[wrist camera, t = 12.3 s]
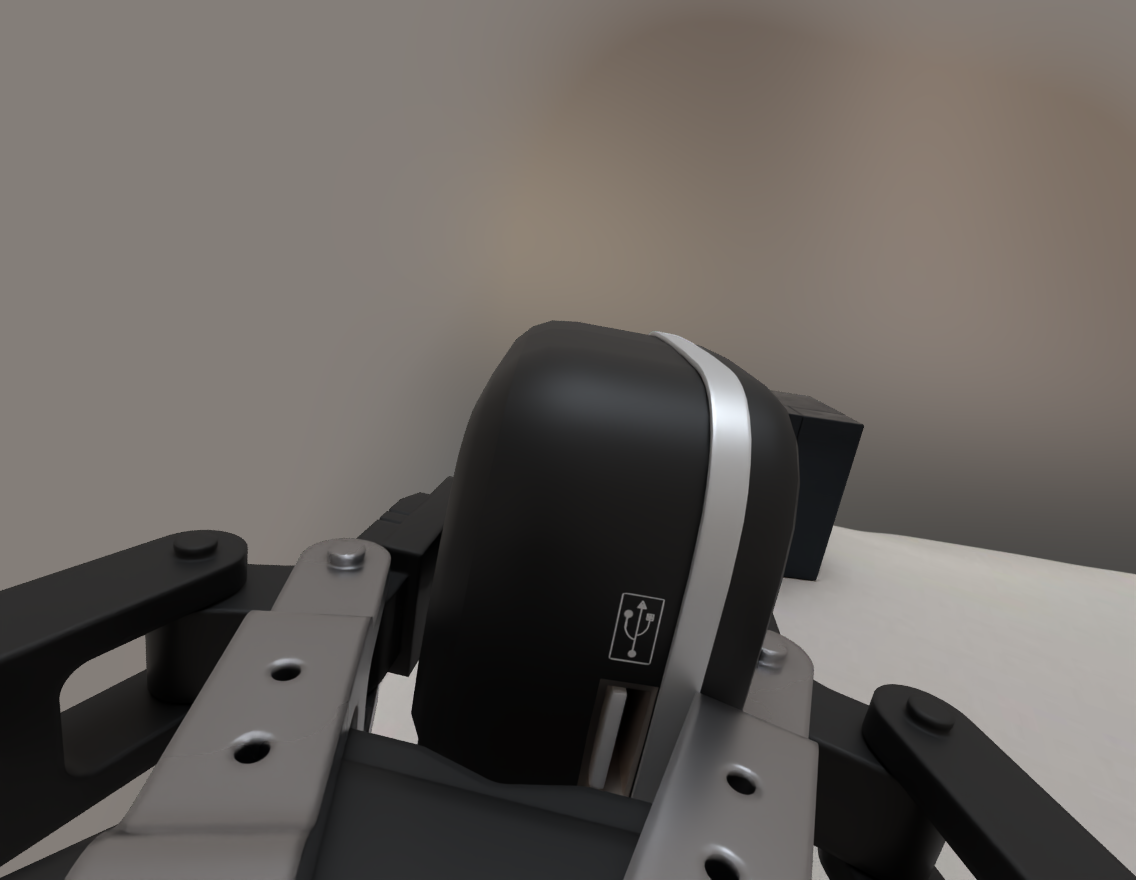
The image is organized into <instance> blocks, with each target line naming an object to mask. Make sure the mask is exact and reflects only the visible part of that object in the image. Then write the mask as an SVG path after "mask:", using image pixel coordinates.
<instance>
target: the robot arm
mask: <svg viewBox="0 0 1136 880" xmlns="http://www.w3.org/2000/svg"><path fill="white" fill-rule="evenodd" d="M452 482H453V477H451V476H449V477H448V478H446V479H445V480H444V481H443V482H442V483H441V484H440V485H439V486H438V487H437V488H436V489H435V490H434V491H433V492H432V493H431V494H425V493H421V492H420V493H417V494H414V495H411V496H408V497H405V498H402V499H400V500H399V501H398V502H397V503H396V504H395V505H393V506H392V507H391V508H390V509H389V511H387V512H386V513H384V514H383V515H382V516H381V517H380V519H379V520H377V521H375V522H374V523H373V524H372V525H371V526H370V527H369V528H368V529H367V530H365V531H364V532H363V533H362V534H361V535H360V536H359V537H358V538H356V539H354V538H340V539H331V540H326V541H322V542H319V543H316V544H314V545H312V546H310V547H308V548H307V549H306V550H304V551H303V553H302V554H301V556H300V557H299V559H298V561H297V563H296V565H295V566H280V565H254V564H247V554H248V551H247V550H248V549H247V544H246V542H245V541H244V540H243V539H242V538H240V537H239V536H237V535H234V534H232V533H228V532H223V531H215V530H197V531H187V532H181V533H176V534H172V535H169V536H166V537H162V538H159V539H156V540H153V541H150V542H147V543H144V544H141V545H138V546H135V547H132V548H129V549H126V550H123V551H120V552H117V553H114V554H111V555H108V556H105V557H102V558H99V559H96V560H93V561H90V562H87V563H83V564H81V565H78V566H74V567H71V568H68V569H65V570H62V571H59V572H56V573H53V574H50V575H47V576H44V577H41V578H38V579H35V580H32V581H29V582H26V583H23V584H20V585H17V586H14V587H11V588H8V589H5V590H2V591H0V867H1V866H2V865H4V864H5V863H7V862H8V861H10V860H11V859H13V858H14V857H16V856H18V855H19V854H20V853H22V852H23V851H25V850H27V849H28V848H30V847H31V846H33V845H34V844H36V843H37V842H39V841H40V840H42V839H43V838H45V837H47V836H48V835H49V834H51V833H52V832H54V831H56V830H57V829H59V828H60V827H62V826H63V825H65V824H66V823H68V822H69V821H71V820H72V819H74V818H75V817H77V816H78V815H80V814H81V813H83V812H85V811H86V810H88V809H89V808H90V807H92V806H94V805H95V804H97V803H98V802H100V801H101V800H103V799H104V798H106V797H107V796H109V795H110V794H112V793H113V792H115V791H116V790H118V789H119V788H121V787H123V786H124V785H126V784H127V783H129V782H130V781H132V780H133V779H135V778H136V777H138V776H139V775H141V774H142V773H144V772H146V771H147V770H148V769H150V768H151V767H153V766H155V765H156V766H155V768H154V769H153V771H152V773H151V774H150V776H149V778H148V779H147V781H146V783H145V784H144V786H143V788H142V789H141V791H140V793H139V794H138V796H137V797H136V799H135V801H134V802H133V804H132V806H131V807H130V809H129V811H128V812H127V814H126V815H125V817H124V818H123V819H122V821H121V822H120V823H119V824H117V825H115V826H113V827H111V828H108V829H106V830H104V831H102V832H100V833H98V834H96V835H93V836H91V837H89V838H87V839H84V840H82V841H80V842H78V843H76V844H74V845H71V846H69V847H67V848H65V849H63V850H60V851H58V852H56V853H54V854H52V855H49V856H47V857H45V858H43V859H41V860H39V861H36V862H34V863H32V864H30V865H28V866H25V867H24V868H21V869H19V870H17V871H15V872H12V873H10V874H8V875H6V876H4V877H1V878H0V880H812V863H813V845H814V846H816V847H818V855H819V859H820V862H821V864H822V866H823V868H824V870H825V872H826V874H827V876H828V877H829V879H830V880H945V879H944V878H943V876H942V875H941V874H940V872H939V871H938V870H937V868H936V867H935V866H934V865H935V863H936V861H937V859H938V857H939V854H940V852H941V850H942V848H943V845H944V843H945V841H946V842H947V843H948V844H949V846H950V847H951V848H952V849H953V851H954V852H955V853H956V854H957V856H958V857H959V858H960V859H961V860H962V862H963V863H964V864H965V865H966V867H967V868H968V869H969V870H970V872H971V873H972V874H973V875H974V877H975V878H976V879H977V880H1136V876H1135V875H1134V874H1133V873H1132V872H1131V871H1129V870H1128V869H1127V868H1126V867H1125V866H1124V865H1123V864H1122V863H1121V862H1120V861H1119V860H1118V859H1117V858H1116V857H1115V856H1114V855H1113V854H1111V853H1110V852H1109V851H1108V850H1107V849H1106V848H1105V847H1104V846H1103V845H1102V844H1101V843H1100V842H1099V841H1098V840H1097V839H1096V838H1095V837H1093V836H1092V835H1091V834H1090V833H1089V832H1088V831H1087V830H1086V829H1085V828H1084V827H1083V826H1082V825H1081V824H1080V823H1079V822H1078V821H1076V820H1075V819H1074V818H1073V817H1072V816H1071V815H1070V814H1069V813H1068V812H1067V811H1066V810H1065V809H1064V808H1063V807H1062V806H1061V805H1060V804H1058V803H1057V802H1056V801H1055V800H1054V799H1053V798H1052V797H1051V796H1050V795H1049V794H1048V793H1047V792H1046V791H1045V790H1044V789H1043V788H1042V787H1040V786H1039V785H1038V784H1037V783H1036V782H1035V781H1034V780H1033V779H1032V778H1031V777H1030V776H1029V775H1028V774H1027V773H1026V772H1025V771H1024V770H1022V769H1021V768H1020V767H1019V766H1018V765H1017V764H1016V763H1015V762H1014V761H1013V760H1012V759H1011V758H1010V757H1009V756H1008V755H1007V754H1006V753H1004V752H1003V751H1002V750H1001V749H1000V748H999V747H998V746H997V745H996V744H995V743H994V742H993V741H992V740H991V739H990V738H989V737H988V736H986V735H985V734H984V733H983V732H982V731H981V730H980V729H979V728H978V727H977V726H976V725H975V724H974V723H973V722H972V721H971V720H969V719H968V718H967V717H966V716H965V715H964V714H963V713H961V712H960V711H958V710H957V709H956V708H954V707H953V706H951V705H950V704H948V703H946V702H945V701H943V700H941V699H939V698H937V697H935V696H933V695H931V694H929V693H927V692H924V691H921V690H919V689H916V688H912V687H908V686H904V685H896V684H889V685H883V686H880V687H878V688H877V689H876V690H875V691H874V694H873V697H872V699H871V702H870V705H866V704H864V703H862V702H859V701H857V700H854V699H852V698H850V697H847V696H845V695H843V694H840V693H838V692H836V691H833V690H831V689H829V688H827V687H825V686H823V685H822V684H820V683H818V682H817V681H815V680H813V675H814V666H813V663H812V661H811V659H810V658H809V656H808V655H807V654H806V653H805V651H804V650H803V649H801V648H800V647H799V646H798V645H797V644H795V643H794V642H793V641H791V640H789V639H788V638H786V637H784V636H782V635H780V632H779V629H778V627H777V624H776V621H775V618H774V615H773V613H772V616H771V619H770V623H769V626H768V630H767V633H766V636H765V640H764V643H763V646H762V649H761V653H760V656H759V659H758V663H757V666H756V669H755V672H754V676H753V679H752V682H751V686H750V689H749V692H748V695H747V699H746V702H745V705H744V708H743V711H741V710H739V709H737V708H734V707H732V706H729V705H727V704H725V703H722V702H720V701H718V700H715V699H713V698H710V697H708V696H706V695H703V694H701V693H698V692H696V693H695V696H694V698H693V701H692V703H691V706H690V708H689V711H688V713H687V716H686V719H685V721H684V724H683V726H682V729H681V732H680V734H679V737H678V739H677V742H676V745H675V747H674V750H673V752H672V755H671V757H670V760H669V763H668V765H667V768H666V770H665V773H664V776H663V778H662V781H661V783H660V786H659V789H658V791H657V794H656V796H655V799H654V801H653V803H650V802H646V801H642V800H638V799H634V798H630V797H626V796H622V795H618V794H614V793H610V792H606V791H602V790H598V789H594V788H590V787H586V786H563V785H525V784H501V783H497V782H493V781H491V780H489V779H487V778H485V777H483V776H481V775H479V774H477V773H475V772H473V771H471V770H469V769H467V768H465V767H463V766H461V765H459V764H457V763H455V762H453V761H451V760H449V759H447V758H445V757H443V756H441V755H440V754H438V753H436V752H434V751H432V750H430V749H428V748H426V747H424V746H421V745H417V744H413V743H409V742H405V741H401V740H397V739H393V738H389V737H385V736H381V735H377V734H372V733H371V731H372V726H373V721H374V716H375V711H376V706H377V701H378V691H379V683H380V682H381V681H382V679H383V678H384V676H385V675H386V673H387V672H390V673H394V674H398V675H402V676H407V677H409V675H410V673H411V672H412V670H413V668H414V667H415V665H416V664H417V662H418V660H419V657H420V651H421V645H422V640H423V634H424V628H425V622H426V617H427V611H428V605H429V599H430V594H431V589H432V583H433V578H434V573H435V567H436V562H437V557H438V551H439V546H440V541H441V536H442V531H443V526H444V521H445V516H446V511H447V506H448V501H449V496H450V491H451V487H452ZM143 635H145V638H146V663H147V664H146V665H147V669H146V670H144V671H142V672H140V673H138V674H136V675H134V676H132V677H130V678H128V679H126V680H124V681H122V682H120V683H118V684H116V685H114V686H112V687H110V688H109V689H106V690H105V691H103V692H101V693H99V694H97V695H95V696H93V697H91V698H89V699H87V700H85V701H83V702H81V703H79V704H77V705H76V706H73V707H71V708H69V709H67V710H65V711H63V712H61V713H60V702H59V697H60V692H61V689H62V687H63V685H64V683H65V682H66V680H67V679H68V678H69V676H70V675H71V674H72V673H73V672H74V671H75V670H76V669H77V668H79V667H80V666H81V665H82V664H84V663H86V662H87V661H89V660H91V659H93V658H95V657H97V656H100V655H102V654H104V653H106V652H108V651H110V650H113V649H115V648H117V647H119V646H121V645H123V644H126V643H128V642H130V641H132V640H134V639H136V638H139V637H141V636H143Z"/></svg>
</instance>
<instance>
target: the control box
mask: <svg viewBox="0 0 1136 880" xmlns="http://www.w3.org/2000/svg"><path fill="white" fill-rule="evenodd" d="M770 391H771V390H770ZM771 392H772V393H773V394H774V395H775V396H776V397H777V398H778V400H779V401H780V402H781V403H782V404H783V406H784V407H785V408H786V409H787V411H788V414H789V417H790V421H791V424H792V427H793V430H794V434H795V437H796V440H797V445H798V456H799V475H800V488H799V496H798V505H797V513H796V522H795V530H794V534H793V538H792V542H791V546H790V550H789V554H788V558H787V563H786V567H785V571H784V575H783V576H784V577H792V578H800V579H807V580H816V579H817V576H818V572H819V569H820V566H821V563H822V560H823V556H824V553H825V550H826V547H827V544H828V540H829V537H830V534H831V531H832V527H833V524H834V521H835V518H836V515H837V511H838V508H839V505H840V502H841V498H842V495H843V492H844V489H845V486H846V482H847V479H848V476H849V473H850V470H851V466H852V463H853V460H854V457H855V454H856V450H857V447H858V444H859V441H860V438H861V434H862V431H863V428H864V425H863V424H861V423H859V422H857V421H855V420H853V419H852V418H850V417H848V416H846V415H844V414H843V413H841V412H839V411H837V410H835V409H833V408H831V407H829V406H827V405H825V404H823V403H822V402H820V401H818V400H816V399H814V398H812V397H810V396H804V395H797V394H791V393H784V392H778V391H771Z"/></svg>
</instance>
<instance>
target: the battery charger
mask: <svg viewBox="0 0 1136 880" xmlns="http://www.w3.org/2000/svg"><path fill="white" fill-rule="evenodd" d="M799 488H800V475H799V456H798V445H797V440H796V437H795V434H794V430H793V427H792V424H791V421H790V417H789V414H788V411H787V409H786V408H785V407H784V406H783V404H782V403H781V402H780V401H779V400H778V398H777V397H776V396H775V395H774V394H773V393H772V392H771V391H770V390H769V389H768V388H767V387H766V386H765V385H763V384H762V383H761V382H760V381H758V380H757V379H755V378H754V377H753V376H751V375H750V374H748V373H747V372H746V371H744V370H743V369H741V368H740V367H739V366H737V365H736V364H734V363H733V362H731V361H730V360H729V359H727V358H725V357H722V356H721V355H719V354H716V353H714V352H712V351H710V350H708V349H706V348H704V347H702V346H698V345H696V344H693V343H692V342H690V341H688V340H686V339H684V338H682V337H680V336H678V335H674V334H669V333H663V332H657V331H652V332H650V333H649V334H648V335H645V334H640V333H634V332H629V331H624V330H618V329H613V328H608V327H602V326H596V325H591V324H586V323H581V322H569V321H550V322H546V323H543V324H540V325H537V326H533V327H532V328H530V329H529V330H528V331H526V332H525V333H524V334H523V335H521V336H520V337H519V338H518V339H516V340H515V342H514V344H513V345H512V346H511V348H510V349H509V351H508V352H507V354H506V355H505V357H504V358H503V360H502V361H501V362H500V364H499V365H498V367H497V368H496V370H495V371H494V373H493V374H492V376H491V378H490V380H489V382H488V383H487V385H486V387H485V389H484V390H483V392H482V394H481V396H480V398H479V399H478V401H477V403H476V405H475V407H474V409H473V411H472V414H471V417H470V419H469V422H468V425H467V428H466V431H465V434H464V438H463V441H462V444H461V448H460V452H459V455H458V460H457V464H456V468H455V472H454V477H453V482H452V487H451V491H450V496H449V501H448V506H447V511H446V516H445V521H444V526H443V531H442V536H441V541H440V546H439V551H438V557H437V562H436V567H435V573H434V578H433V583H432V589H431V594H430V599H429V605H428V611H427V617H426V622H425V628H424V634H423V640H422V645H421V651H420V657H419V663H418V670H417V677H416V684H415V691H414V697H413V704H412V711H411V714H412V718H413V721H414V725H415V728H416V732H417V735H418V745H421V746H424V747H426V748H428V749H430V750H432V751H434V752H436V753H438V754H440V755H441V756H443V757H445V758H447V759H449V760H451V761H453V762H455V763H457V764H459V765H461V766H463V767H465V768H467V769H469V770H471V771H473V772H475V773H477V774H479V775H481V776H483V777H485V778H487V779H489V780H491V781H493V782H497V783H501V784H525V785H563V786H586V787H590V788H594V789H598V790H602V791H606V792H610V793H614V794H618V795H622V796H626V797H630V798H634V799H638V800H642V801H646V802H650V803H653V801H654V799H655V796H656V794H657V791H658V789H659V786H660V783H661V781H662V778H663V776H664V773H665V770H666V768H667V765H668V763H669V760H670V757H671V755H672V752H673V750H674V747H675V745H676V742H677V739H678V737H679V734H680V732H681V729H682V726H683V724H684V721H685V719H686V716H687V713H688V711H689V708H690V706H691V703H692V701H693V698H694V696H695V693H696V692H698V693H701V694H703V695H706V696H708V697H710V698H713V699H715V700H718V701H720V702H722V703H725V704H727V705H729V706H732V707H734V708H737V709H739V710H741V711H743V708H744V705H745V702H746V699H747V695H748V692H749V689H750V686H751V682H752V679H753V676H754V672H755V669H756V666H757V663H758V659H759V656H760V653H761V649H762V646H763V643H764V640H765V636H766V633H767V630H768V626H769V623H770V619H771V616H772V613H773V609H774V606H775V603H776V599H777V596H778V593H779V589H780V586H781V582H782V579H783V575H784V571H785V567H786V563H787V558H788V554H789V550H790V546H791V542H792V538H793V534H794V530H795V522H796V513H797V505H798V496H799Z"/></svg>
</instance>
